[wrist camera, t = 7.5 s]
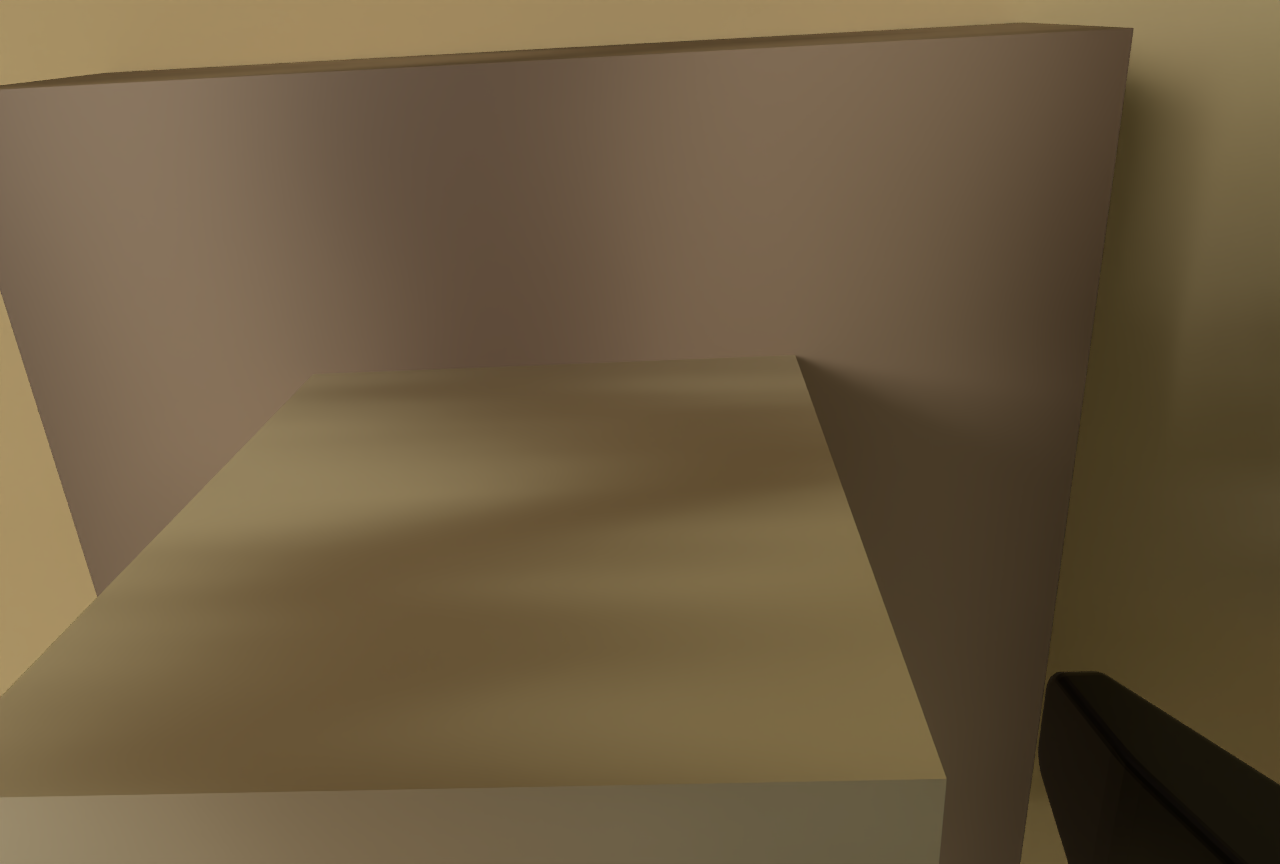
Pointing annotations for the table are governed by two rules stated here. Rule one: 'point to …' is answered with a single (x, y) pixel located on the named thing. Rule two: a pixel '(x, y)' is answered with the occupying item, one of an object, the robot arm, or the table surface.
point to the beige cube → (491, 642)
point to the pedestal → (612, 286)
